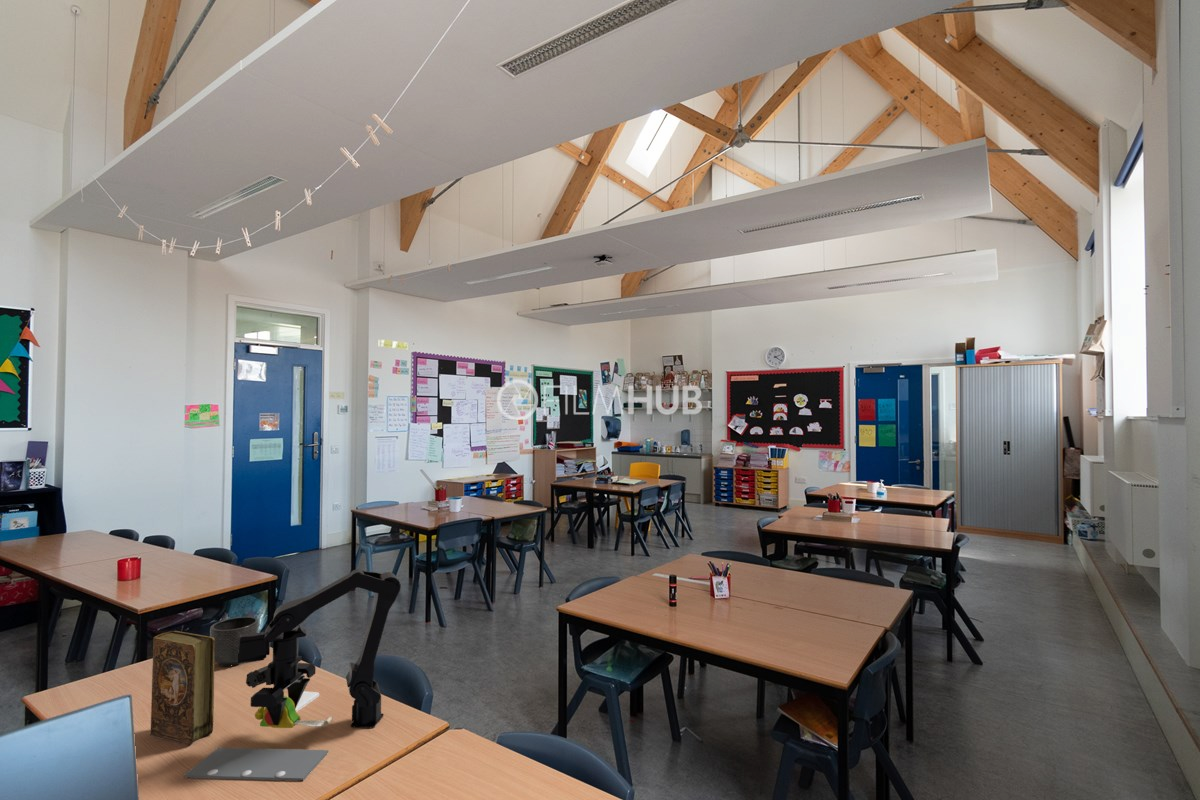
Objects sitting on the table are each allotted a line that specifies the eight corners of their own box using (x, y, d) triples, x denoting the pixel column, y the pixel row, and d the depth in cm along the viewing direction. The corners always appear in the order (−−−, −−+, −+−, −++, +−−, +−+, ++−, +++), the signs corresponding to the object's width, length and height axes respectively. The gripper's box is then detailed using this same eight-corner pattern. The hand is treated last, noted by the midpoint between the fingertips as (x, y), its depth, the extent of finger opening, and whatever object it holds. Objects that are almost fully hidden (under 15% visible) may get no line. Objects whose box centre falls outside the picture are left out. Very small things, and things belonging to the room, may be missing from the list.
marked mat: (328, 752, 139) (328, 749, 139) (303, 781, 128) (303, 777, 128) (218, 749, 140) (218, 746, 140) (183, 777, 129) (183, 774, 129)
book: (146, 734, 147) (149, 637, 148) (169, 724, 152) (171, 630, 153) (191, 746, 142) (194, 645, 143) (212, 735, 147) (215, 637, 148)
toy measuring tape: (263, 717, 147) (263, 691, 148) (336, 718, 147) (337, 692, 147) (247, 730, 141) (248, 703, 141) (324, 731, 141) (324, 704, 141)
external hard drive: (319, 698, 168) (289, 719, 156) (294, 695, 169) (263, 716, 157) (319, 692, 168) (289, 713, 156) (295, 690, 169) (263, 710, 157)
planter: (198, 669, 186) (199, 629, 187) (232, 652, 200) (233, 615, 200) (235, 672, 184) (236, 631, 184) (267, 654, 198) (268, 617, 198)
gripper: (277, 641, 154) (276, 699, 154) (229, 671, 136) (228, 737, 135) (317, 641, 154) (316, 700, 153) (274, 672, 135) (273, 738, 135)
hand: (284, 717), depth 144 cm, fingers closed on toy measuring tape, 6 cm apart
